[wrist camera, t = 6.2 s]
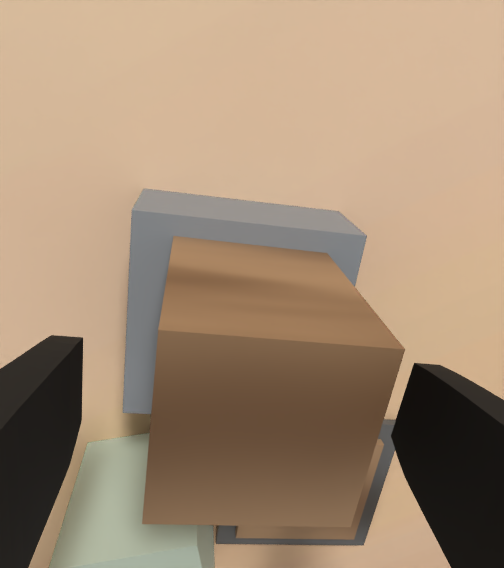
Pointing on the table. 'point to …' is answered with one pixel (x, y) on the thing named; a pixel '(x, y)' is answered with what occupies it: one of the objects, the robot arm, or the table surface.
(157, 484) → the walnut block
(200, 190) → the table surface
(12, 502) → the robot arm
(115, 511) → the sage block
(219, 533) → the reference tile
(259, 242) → the base block
